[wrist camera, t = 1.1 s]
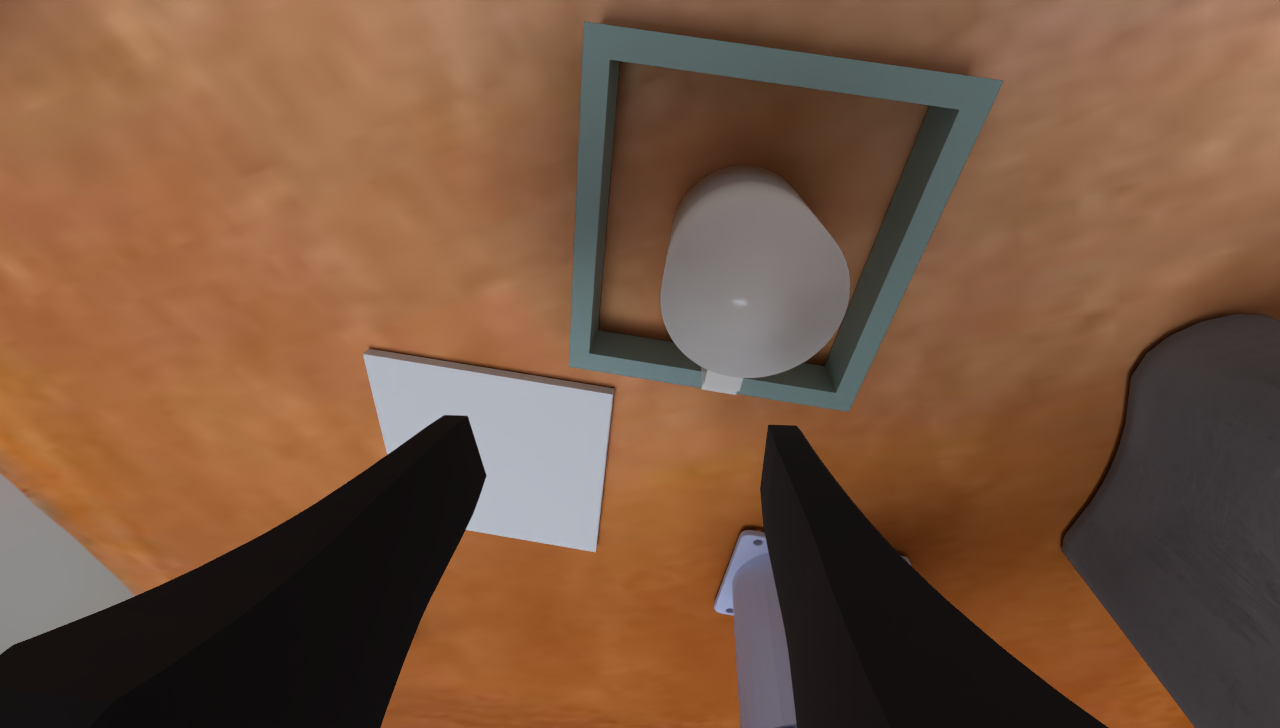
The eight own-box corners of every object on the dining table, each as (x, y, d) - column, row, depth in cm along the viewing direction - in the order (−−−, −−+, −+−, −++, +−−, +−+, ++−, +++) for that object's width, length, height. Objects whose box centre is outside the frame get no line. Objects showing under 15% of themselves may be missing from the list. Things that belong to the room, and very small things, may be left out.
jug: (683, 155, 16) (676, 192, 11) (824, 176, 16) (881, 224, 11) (657, 320, 20) (642, 405, 15) (772, 338, 20) (798, 430, 15)
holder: (968, 79, 14) (1003, 80, 13) (836, 384, 21) (848, 411, 19) (597, 27, 15) (584, 21, 13) (579, 342, 21) (569, 366, 19)
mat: (614, 388, 22) (612, 394, 22) (597, 544, 29) (595, 552, 28) (369, 348, 22) (362, 353, 22) (407, 512, 29) (403, 518, 28)
